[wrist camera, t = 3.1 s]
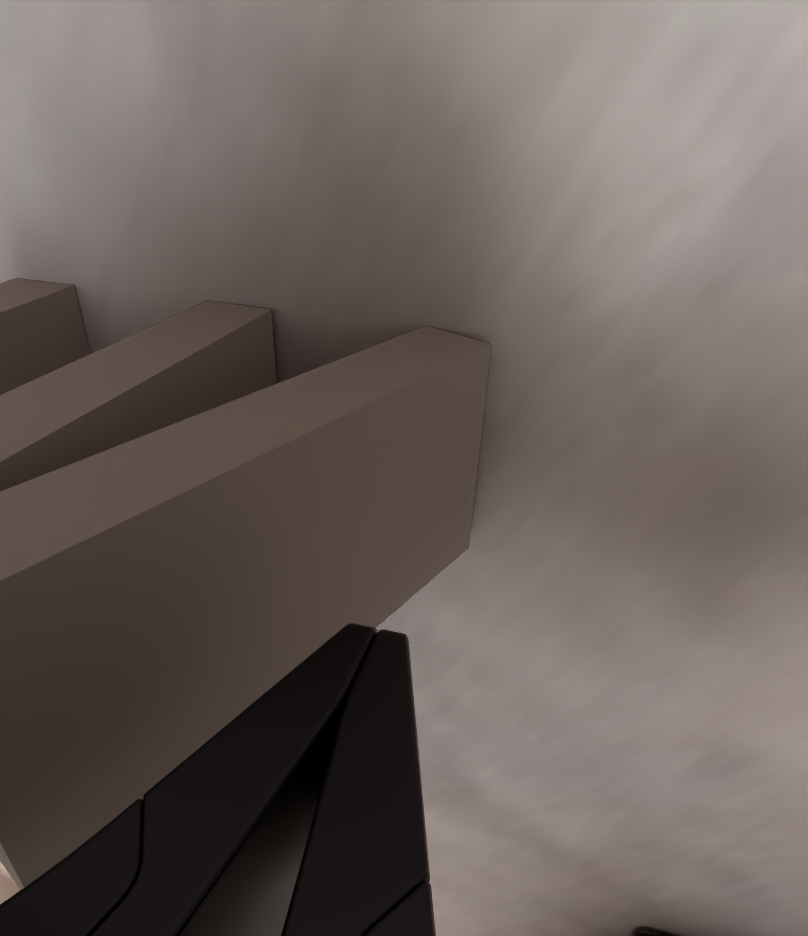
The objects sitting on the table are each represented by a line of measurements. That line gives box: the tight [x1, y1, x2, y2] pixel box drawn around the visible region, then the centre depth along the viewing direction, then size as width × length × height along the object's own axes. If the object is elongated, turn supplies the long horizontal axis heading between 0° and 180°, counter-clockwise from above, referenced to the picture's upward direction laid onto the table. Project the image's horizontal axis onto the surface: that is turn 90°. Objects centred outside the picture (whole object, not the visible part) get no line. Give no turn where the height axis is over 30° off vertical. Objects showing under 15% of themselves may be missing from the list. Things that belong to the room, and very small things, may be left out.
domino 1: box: [0, 300, 277, 492], centre depth 11 cm, size 2×5×10 cm, turn 178°
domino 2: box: [0, 326, 491, 890], centre depth 11 cm, size 2×5×10 cm, turn 179°
